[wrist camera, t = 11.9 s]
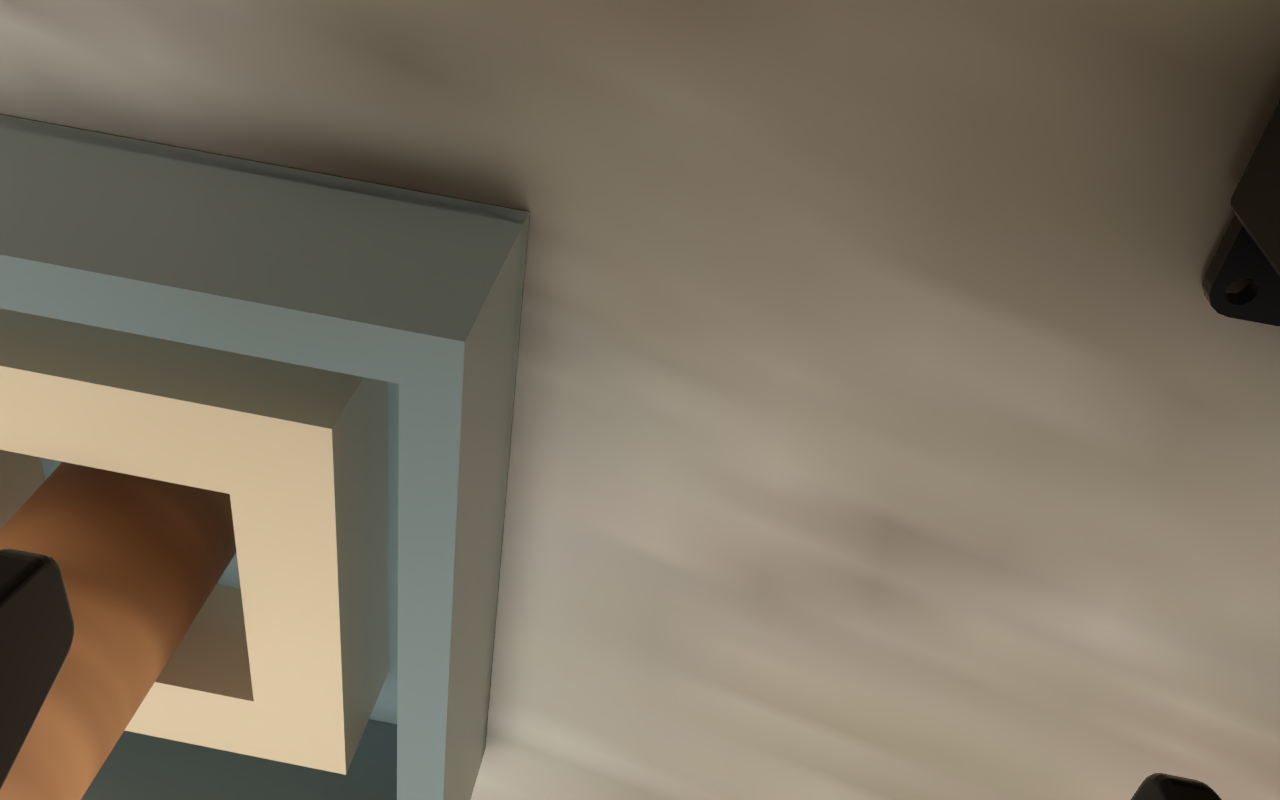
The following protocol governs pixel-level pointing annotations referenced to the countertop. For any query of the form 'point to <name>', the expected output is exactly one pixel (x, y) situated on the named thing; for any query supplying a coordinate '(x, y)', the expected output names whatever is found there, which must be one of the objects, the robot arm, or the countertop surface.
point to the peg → (112, 607)
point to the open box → (277, 446)
